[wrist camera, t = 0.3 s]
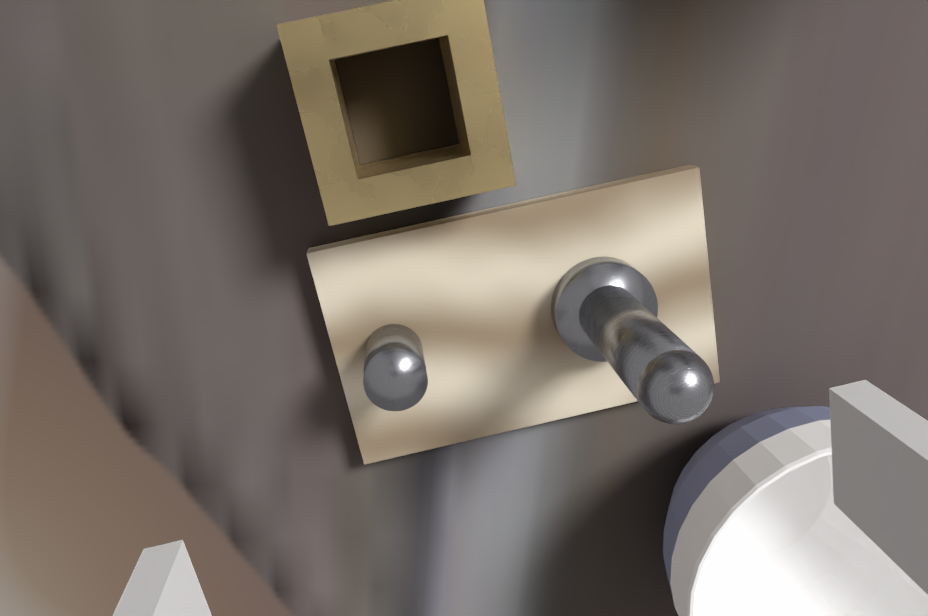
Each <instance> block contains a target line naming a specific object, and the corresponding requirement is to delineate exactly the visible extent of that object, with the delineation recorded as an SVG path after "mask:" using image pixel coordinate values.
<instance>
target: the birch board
mask: <svg viewBox="0 0 928 616" xmlns="http://www.w3.org/2000/svg"><path fill="white" fill-rule="evenodd" d="M306 254H307V258H308V261H309V265H310V269H311V272H312V276H313V279H314V283H315V287H316V290H317V294H318V298H319V301H320V305H321V309H322V312H323V316H324V320H325V323H326V327H327V331H328V334H329V338H330V342H331V345H332V349H333V353H334V356H335V360H336V364H337V367H338V371H339V374H340V378H341V382H342V385H343V389H344V393H345V396H346V400H347V404H348V407H349V411H350V415H351V418H352V422H353V426H354V429H355V433H356V437H357V440H358V444H359V448H360V451H361V455H362V458H363V462H364V465H365V464H369V463H373V462H378V461H382V460H386V459H390V458H395V457H399V456H403V455H408V454H412V453H416V452H421V451H425V450H429V449H434V448H438V447H442V446H447V445H451V444H455V443H459V442H464V441H468V440H472V439H477V438H481V437H485V436H490V435H494V434H498V433H503V432H507V431H511V430H516V429H520V428H524V427H528V426H533V425H537V424H541V423H546V422H550V421H554V420H559V419H563V418H567V417H572V416H576V415H580V414H585V413H589V412H593V411H597V410H602V409H606V408H610V407H615V406H619V405H623V404H628V403H632V402H636V401H637V399H636V398H635V397H634V396H633V394H632V393H631V392H630V390H629V389H628V388H627V387H626V385H625V384H624V383H623V381H622V380H621V379H620V378H619V376H618V375H617V374H616V372H615V371H614V370H613V368H612V367H611V366H610V365H609V363H608V362H598V361H592V360H588V359H585V358H583V357H581V356H579V355H577V354H576V353H575V352H573V351H572V350H571V349H570V348H569V347H568V346H567V345H566V343H565V342H564V340H563V339H562V337H561V336H560V335H559V333H558V331H557V330H556V328H555V326H554V323H553V320H552V316H551V301H552V296H553V293H554V290H555V288H556V286H557V284H558V282H559V281H560V279H561V278H562V277H563V275H564V274H565V273H566V272H567V271H568V270H569V269H571V268H572V267H573V266H575V265H576V264H578V263H580V262H582V261H584V260H587V259H590V258H594V257H613V258H617V259H620V260H623V261H625V262H627V263H628V264H630V265H631V266H632V267H634V268H635V269H636V270H638V271H639V272H640V273H641V274H643V275H644V276H645V277H646V278H647V279H648V281H649V282H650V283H651V285H652V287H653V289H654V291H655V293H656V296H657V302H658V315H657V318H658V319H659V320H660V321H661V322H662V323H663V324H665V325H666V326H667V327H668V328H669V329H670V330H671V331H672V332H673V333H674V334H676V335H677V336H678V337H679V338H680V339H681V340H682V341H683V342H684V343H685V344H687V345H688V346H689V347H690V348H691V349H692V350H693V351H694V352H695V353H696V354H698V355H699V356H700V357H701V358H702V359H703V360H704V361H705V362H706V364H707V365H708V366H709V368H710V370H711V372H712V375H713V379H714V383H718V382H720V379H719V368H718V358H717V348H716V337H715V327H714V316H713V306H712V295H711V285H710V275H709V264H708V254H707V243H706V233H705V222H704V212H703V202H702V191H701V181H700V170H699V167H696V166H693V165H685V166H681V167H676V168H672V169H667V170H662V171H658V172H653V173H649V174H644V175H640V176H635V177H630V178H626V179H621V180H617V181H612V182H608V183H603V184H598V185H594V186H589V187H585V188H580V189H576V190H571V191H566V192H562V193H557V194H553V195H548V196H544V197H539V198H534V199H530V200H525V201H521V202H516V203H512V204H507V205H502V206H498V207H493V208H489V209H484V210H480V211H475V212H470V213H466V214H461V215H457V216H452V217H448V218H443V219H438V220H434V221H429V222H425V223H420V224H416V225H411V226H406V227H402V228H397V229H393V230H388V231H384V232H379V233H374V234H370V235H365V236H361V237H356V238H352V239H347V240H342V241H338V242H333V243H329V244H324V245H320V246H315V247H310V248H308V251H307V253H306ZM388 324H400V325H404V326H406V327H408V328H410V329H412V330H413V331H414V332H415V333H416V334H417V335H418V337H419V338H420V340H421V343H422V347H423V353H424V359H425V365H426V371H427V378H428V385H427V389H426V392H425V394H424V396H423V398H422V399H421V400H420V401H419V402H418V403H417V404H416V405H414V406H413V407H411V408H409V409H406V410H403V411H387V410H384V409H381V408H379V407H377V406H376V405H374V404H373V403H372V402H371V401H370V400H369V398H368V397H367V395H366V393H365V390H364V385H363V377H364V350H365V344H366V342H367V339H368V338H369V336H370V335H371V334H372V333H373V332H374V331H375V330H376V329H378V328H380V327H382V326H384V325H388Z"/></svg>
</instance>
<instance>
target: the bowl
mask: <svg viewBox="0 0 928 616" xmlns="http://www.w3.org/2000/svg"><path fill="white" fill-rule="evenodd" d="M663 557H664V562H665V568H666V574H667V577H668V581H669V585H670V589H671V593H672V596H673V601H674V607H675V609H676V611H677V614H678V616H928V595H927V594H926V593H925V592H924V591H923V590H922V589H921V588H920V587H919V586H918V585H917V584H916V583H915V582H914V581H913V580H912V579H911V578H910V577H909V576H908V575H907V574H906V573H905V572H904V571H903V570H902V569H901V568H900V567H899V566H898V565H897V564H895V563H894V562H893V561H892V560H891V559H890V558H889V557H888V556H887V555H886V554H885V553H884V552H883V551H882V550H881V549H880V548H879V547H878V546H877V545H876V544H875V543H874V542H873V541H872V540H871V539H870V538H869V537H868V536H867V535H866V534H865V533H864V532H863V531H862V530H861V529H860V528H858V527H857V526H856V525H855V524H854V523H853V522H852V521H851V520H850V519H849V518H848V517H847V516H846V515H845V514H844V513H843V512H842V511H841V510H840V509H839V508H838V507H837V506H836V505H835V504H834V495H833V470H832V446H831V422H830V407H824V406H807V407H789V408H777V409H770V410H766V411H762V412H759V413H755V414H751V415H749V416H747V417H744V418H742V419H740V420H738V421H736V422H734V423H731V424H730V425H728V426H727V427H725V428H724V429H722V430H721V431H719V432H718V433H716V434H715V435H713V436H712V437H711V438H710V439H709V440H708V441H707V442H706V443H705V444H704V445H703V446H701V447H700V448H699V449H698V450H697V451H696V452H695V454H694V455H693V456H692V458H691V459H690V460H689V462H688V463H687V464H686V466H685V467H684V469H683V470H682V472H681V474H680V476H679V478H678V480H677V482H676V484H675V486H674V489H673V493H672V496H671V500H670V504H669V508H668V513H667V518H666V522H665V527H664V539H663Z"/></svg>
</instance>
